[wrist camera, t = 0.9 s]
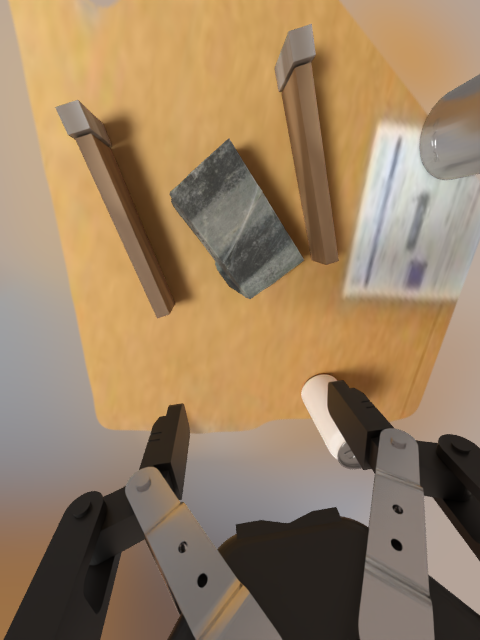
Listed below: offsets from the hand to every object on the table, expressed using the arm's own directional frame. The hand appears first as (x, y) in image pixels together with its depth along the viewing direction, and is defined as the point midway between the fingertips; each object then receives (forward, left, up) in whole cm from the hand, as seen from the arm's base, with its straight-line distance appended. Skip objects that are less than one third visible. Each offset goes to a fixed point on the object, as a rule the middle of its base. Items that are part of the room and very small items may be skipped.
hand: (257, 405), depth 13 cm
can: (-9, +19, -21) cm, 30 cm away
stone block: (-3, -8, -22) cm, 23 cm away
